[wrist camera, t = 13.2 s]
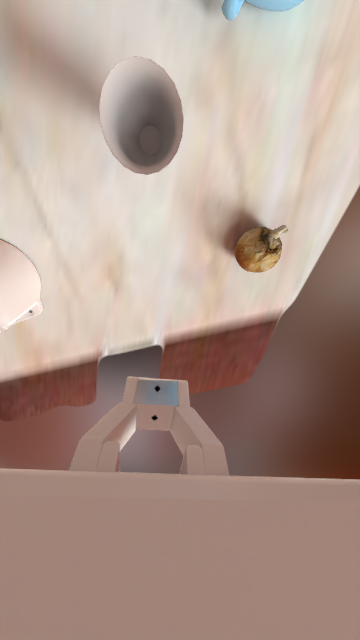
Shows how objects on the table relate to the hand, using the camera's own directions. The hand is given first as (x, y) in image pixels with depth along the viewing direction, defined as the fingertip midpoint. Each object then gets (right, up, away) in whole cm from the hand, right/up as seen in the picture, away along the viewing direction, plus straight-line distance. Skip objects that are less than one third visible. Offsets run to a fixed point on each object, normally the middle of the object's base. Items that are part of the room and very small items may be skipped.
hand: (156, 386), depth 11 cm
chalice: (-3, +29, +23) cm, 37 cm away
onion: (+15, +17, +30) cm, 38 cm away
